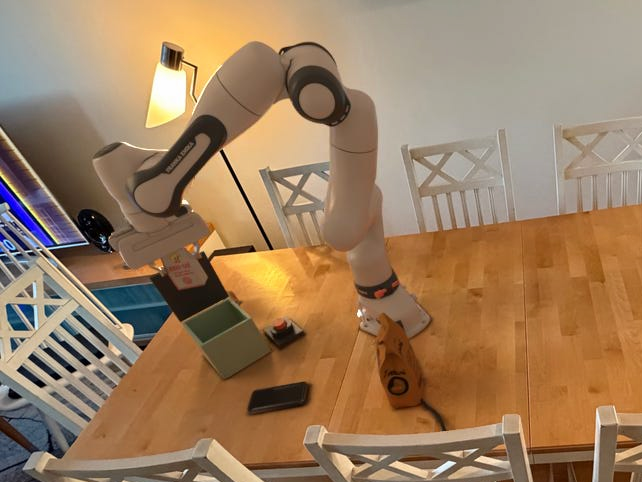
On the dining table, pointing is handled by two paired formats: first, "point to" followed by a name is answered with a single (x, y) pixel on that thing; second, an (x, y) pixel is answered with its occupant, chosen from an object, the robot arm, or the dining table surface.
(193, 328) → the green box
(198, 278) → the printed card box
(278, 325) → the button
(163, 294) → the lid
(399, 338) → the coffee package
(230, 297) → the lion figurine
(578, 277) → the dining table surface
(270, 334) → the block
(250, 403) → the phone
